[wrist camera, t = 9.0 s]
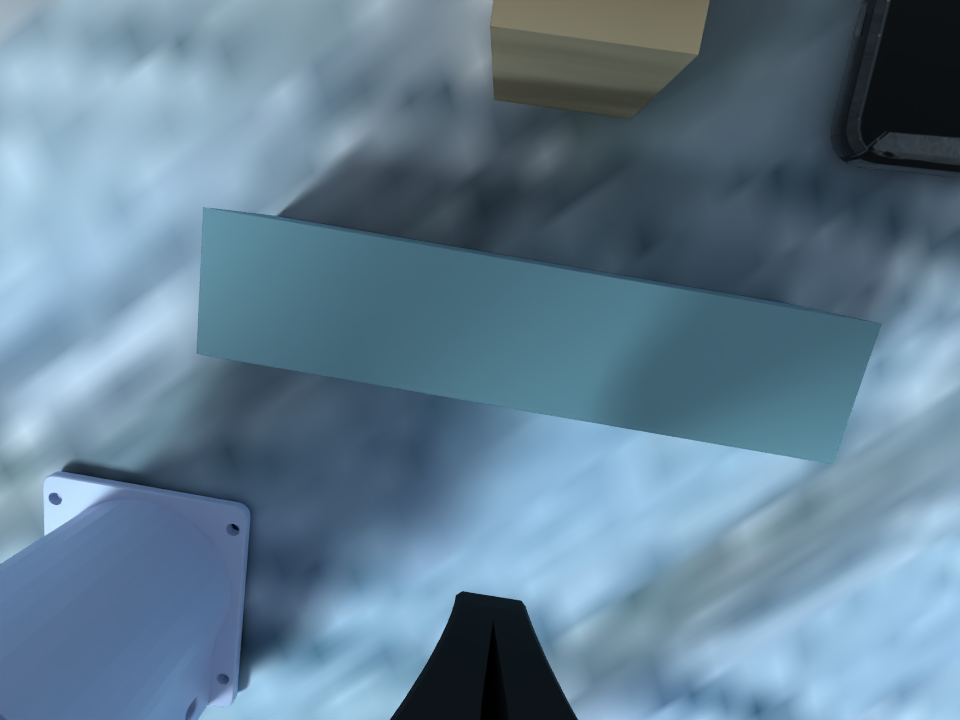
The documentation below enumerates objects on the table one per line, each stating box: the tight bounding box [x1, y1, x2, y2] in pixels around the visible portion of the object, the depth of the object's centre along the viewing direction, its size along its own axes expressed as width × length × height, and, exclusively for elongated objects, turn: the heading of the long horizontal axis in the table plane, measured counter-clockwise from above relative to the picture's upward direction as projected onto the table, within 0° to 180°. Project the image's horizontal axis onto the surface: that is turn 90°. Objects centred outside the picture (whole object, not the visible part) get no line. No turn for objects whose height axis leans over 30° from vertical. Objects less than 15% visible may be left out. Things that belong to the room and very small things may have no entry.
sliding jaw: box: [197, 207, 881, 464], centre depth 16 cm, size 4×18×4 cm, turn 81°
